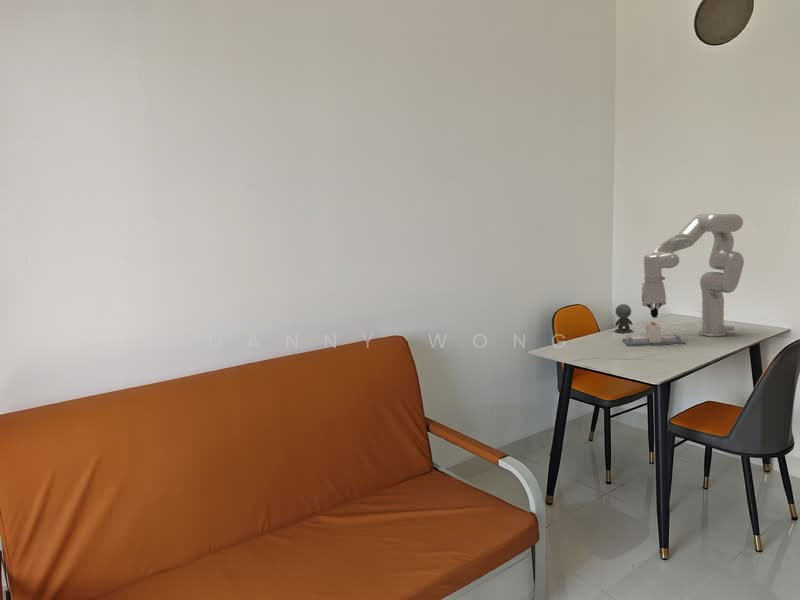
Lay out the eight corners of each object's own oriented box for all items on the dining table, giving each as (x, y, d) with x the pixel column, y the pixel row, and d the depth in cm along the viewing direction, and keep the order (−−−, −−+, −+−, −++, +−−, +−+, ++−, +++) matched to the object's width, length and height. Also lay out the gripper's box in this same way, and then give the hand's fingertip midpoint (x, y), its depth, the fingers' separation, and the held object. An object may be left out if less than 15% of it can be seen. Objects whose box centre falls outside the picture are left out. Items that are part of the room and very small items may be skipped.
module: (656, 338, 274) (656, 320, 273) (661, 342, 266) (661, 323, 265) (645, 338, 275) (645, 321, 273) (650, 342, 267) (650, 324, 266)
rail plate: (677, 339, 274) (677, 332, 273) (685, 344, 263) (685, 337, 262) (622, 340, 278) (622, 334, 278) (627, 346, 268) (627, 339, 267)
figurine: (629, 329, 302) (629, 302, 300) (635, 333, 293) (634, 305, 290) (613, 330, 303) (612, 303, 301) (618, 334, 293) (618, 306, 291)
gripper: (667, 277, 268) (668, 314, 271) (634, 280, 271) (636, 316, 274) (672, 279, 261) (673, 317, 264) (638, 282, 264) (640, 319, 267)
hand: (654, 317), depth 269 cm, fingers closed
